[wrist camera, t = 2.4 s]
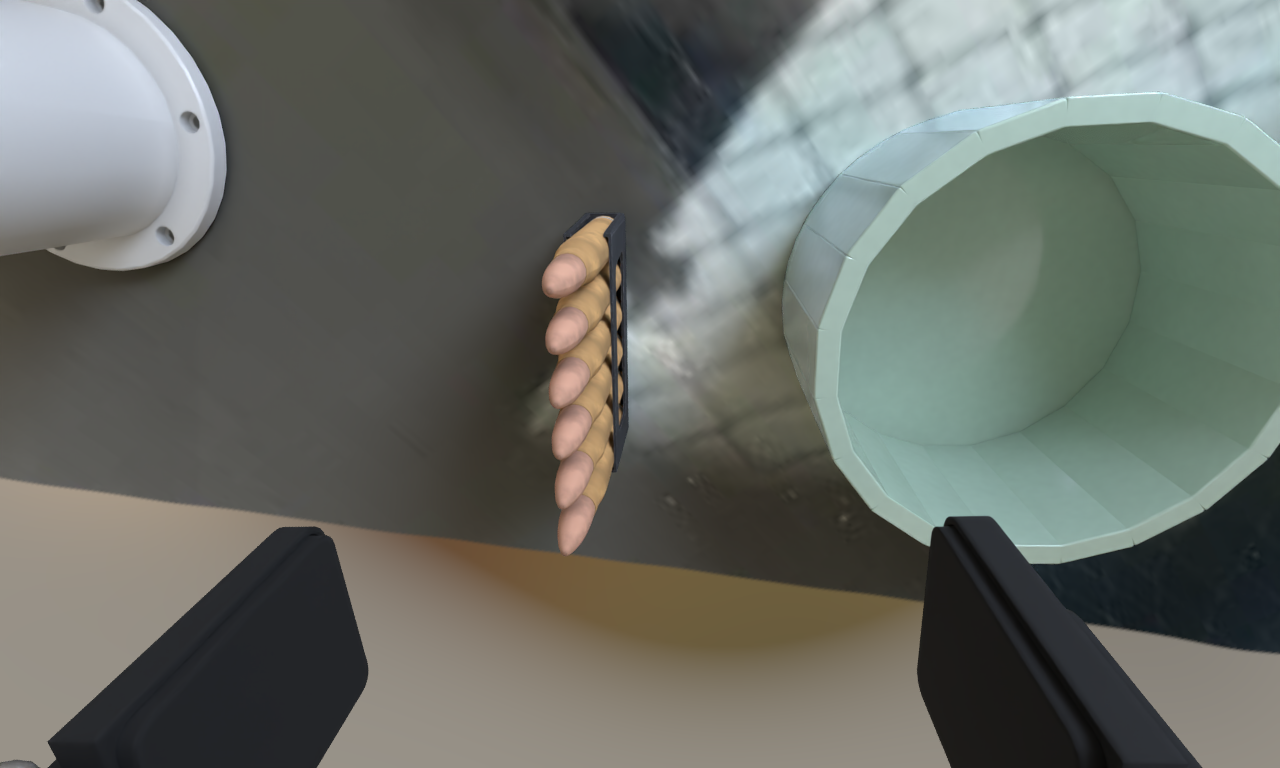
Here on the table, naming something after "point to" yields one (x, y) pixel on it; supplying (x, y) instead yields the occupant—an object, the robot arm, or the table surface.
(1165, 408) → the pale green bowl
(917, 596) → the table surface
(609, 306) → the ammunition clip
